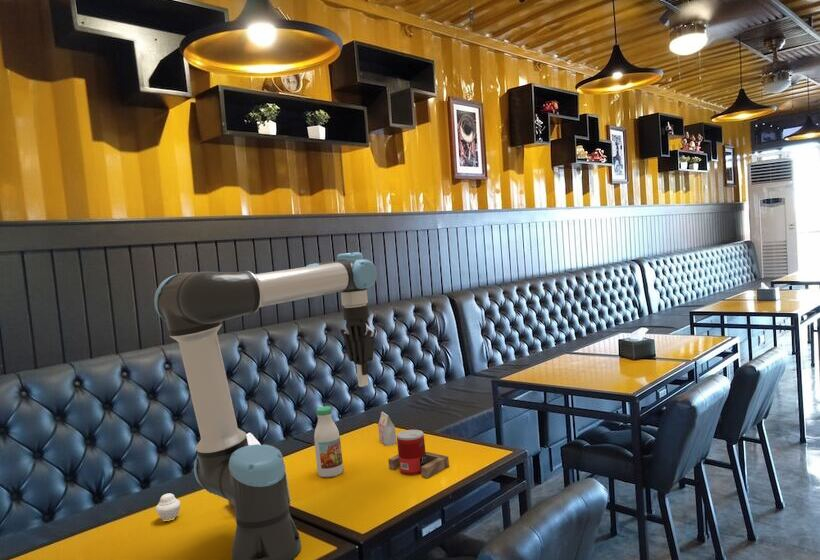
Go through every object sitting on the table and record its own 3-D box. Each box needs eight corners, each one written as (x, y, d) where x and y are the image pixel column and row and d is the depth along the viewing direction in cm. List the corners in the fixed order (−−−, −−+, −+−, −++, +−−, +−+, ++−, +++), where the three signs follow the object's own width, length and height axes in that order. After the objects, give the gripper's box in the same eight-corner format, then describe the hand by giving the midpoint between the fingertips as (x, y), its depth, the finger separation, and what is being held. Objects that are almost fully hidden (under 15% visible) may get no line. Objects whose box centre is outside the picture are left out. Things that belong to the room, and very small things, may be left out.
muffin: (177, 511, 160) (174, 486, 160) (185, 518, 156) (182, 492, 155) (153, 520, 156) (150, 494, 156) (161, 527, 152) (158, 500, 151)
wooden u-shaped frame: (427, 478, 166) (426, 468, 166) (389, 468, 176) (388, 459, 176) (449, 466, 173) (448, 456, 173) (411, 457, 184) (410, 448, 183)
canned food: (427, 473, 169) (423, 436, 169) (400, 476, 169) (396, 439, 169) (426, 464, 177) (423, 428, 176) (400, 466, 177) (396, 430, 176)
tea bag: (389, 438, 204) (386, 410, 203) (396, 444, 198) (393, 415, 197) (379, 441, 203) (376, 412, 202) (386, 446, 196) (383, 417, 196)
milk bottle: (313, 477, 175) (306, 411, 174) (325, 467, 182) (318, 404, 181) (336, 478, 173) (329, 411, 171) (347, 468, 180) (341, 404, 179)
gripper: (380, 303, 169) (388, 384, 171) (349, 304, 178) (357, 380, 179) (361, 307, 164) (369, 390, 165) (330, 307, 173) (339, 386, 174)
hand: (363, 385), depth 172 cm, fingers closed
